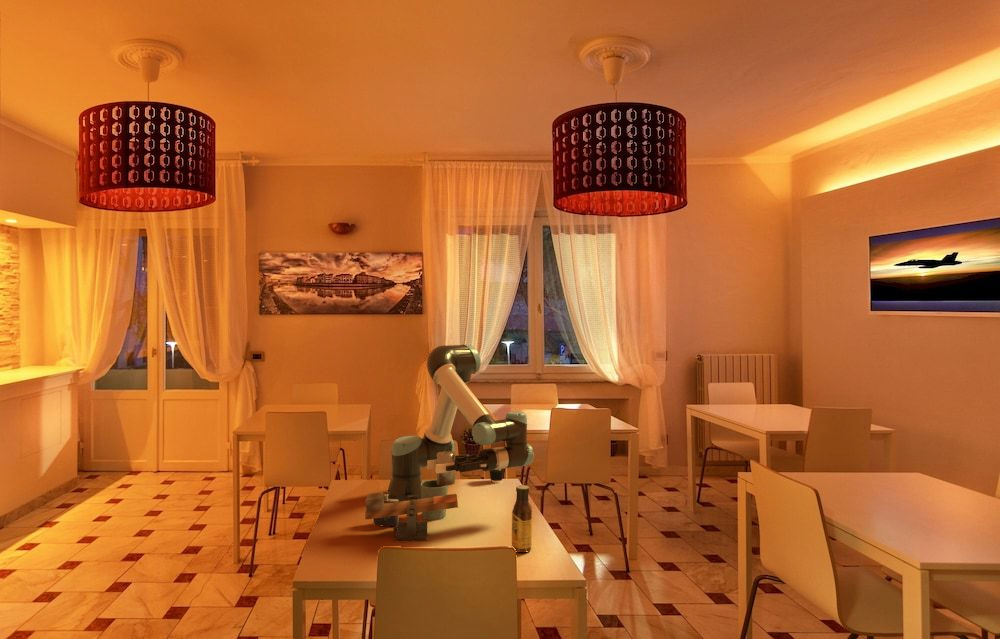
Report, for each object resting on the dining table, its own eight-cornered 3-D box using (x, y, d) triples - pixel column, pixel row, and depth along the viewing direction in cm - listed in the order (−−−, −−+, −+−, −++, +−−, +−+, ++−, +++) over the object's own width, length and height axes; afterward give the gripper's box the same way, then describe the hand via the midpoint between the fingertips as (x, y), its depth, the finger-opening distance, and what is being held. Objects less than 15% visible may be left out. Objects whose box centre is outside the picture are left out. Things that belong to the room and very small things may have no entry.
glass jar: (433, 483, 199) (433, 453, 200) (443, 479, 205) (443, 450, 205) (448, 486, 197) (448, 456, 197) (458, 482, 202) (458, 452, 202)
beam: (365, 520, 194) (363, 501, 193) (368, 511, 202) (366, 493, 202) (458, 508, 197) (456, 489, 197) (457, 500, 205) (455, 482, 205)
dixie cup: (491, 484, 259) (492, 459, 259) (484, 480, 266) (484, 455, 266) (508, 482, 262) (508, 457, 262) (500, 478, 269) (501, 453, 269)
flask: (399, 525, 208) (399, 494, 208) (396, 527, 205) (396, 496, 205) (375, 522, 210) (375, 491, 210) (371, 525, 207) (371, 494, 207)
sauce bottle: (510, 546, 189) (511, 483, 189) (530, 546, 189) (530, 483, 189) (512, 554, 182) (513, 489, 182) (533, 554, 183) (533, 489, 183)
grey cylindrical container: (436, 510, 224) (436, 478, 224) (454, 516, 217) (454, 483, 217) (414, 516, 217) (414, 483, 217) (431, 523, 210) (432, 488, 210)
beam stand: (395, 541, 192) (395, 507, 192) (398, 526, 206) (398, 494, 206) (426, 540, 193) (427, 506, 193) (427, 525, 207) (427, 494, 207)
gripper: (506, 476, 201) (444, 485, 190) (479, 464, 218) (420, 471, 206) (506, 453, 201) (444, 461, 190) (479, 443, 218) (420, 450, 206)
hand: (431, 466), depth 198 cm, fingers closed on glass jar, 6 cm apart
